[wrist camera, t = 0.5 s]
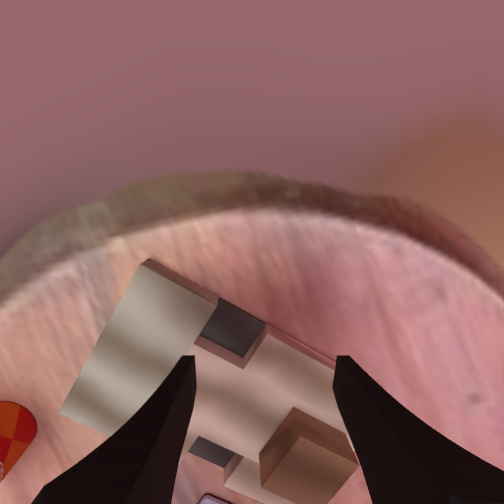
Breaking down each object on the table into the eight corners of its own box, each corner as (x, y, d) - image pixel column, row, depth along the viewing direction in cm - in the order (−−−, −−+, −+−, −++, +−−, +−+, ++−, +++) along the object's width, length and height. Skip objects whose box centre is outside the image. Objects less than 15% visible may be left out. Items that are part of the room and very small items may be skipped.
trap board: (294, 497, 28) (298, 519, 27) (72, 396, 25) (57, 413, 23) (382, 387, 26) (393, 403, 24) (149, 258, 22) (140, 264, 20)
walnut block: (310, 477, 25) (319, 513, 23) (258, 453, 25) (261, 487, 22) (345, 433, 25) (359, 465, 22) (293, 406, 24) (300, 436, 21)
